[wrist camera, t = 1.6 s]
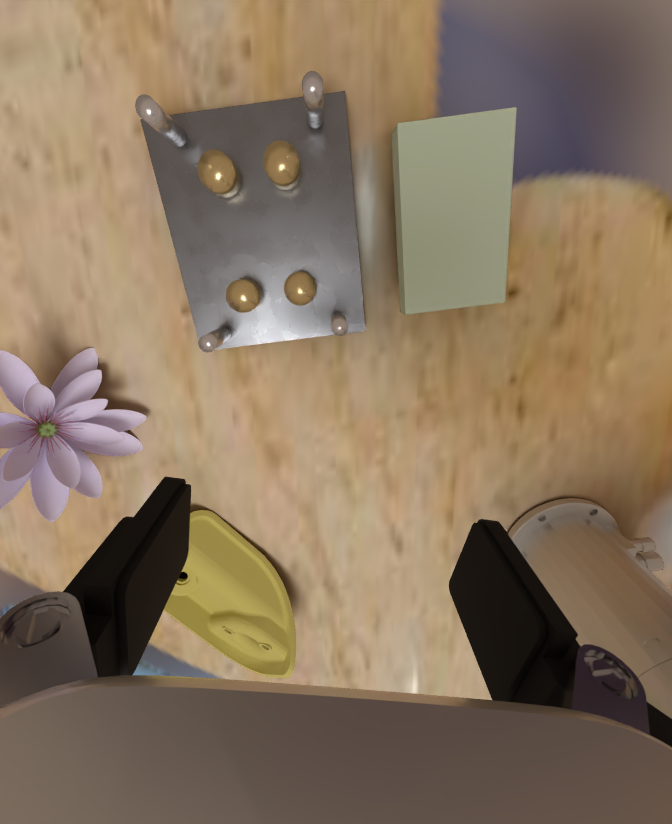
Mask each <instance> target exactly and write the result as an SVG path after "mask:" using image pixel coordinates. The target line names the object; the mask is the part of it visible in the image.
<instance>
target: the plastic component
mask: <svg viewBox="0 0 672 824" xmlns="http://www.w3.org/2000/svg"><path fill="white" fill-rule="evenodd" d="M182 572H185V573H187V575H188V577H187V578H185V579H181V578H178V580H177V582H176V584H175V586H174V589H173V591H172V593H171V595H170V597H169V599H168V601H167V603H166V606H165V608H164V610H163V611H165V612H166V613H167V614H169V615H170V616H171V617H173V618H174V619H175V620H177V621H178V622H179V623H181V624H182V625H183V626H185V627H186V628H188V629H189V630H190V631H192V632H193V633H194V634H196V635H197V636H198V637H200V638H201V639H202V640H204V641H205V642H206V643H208V644H209V645H210V646H212V647H213V648H214V649H216V650H217V651H219V652H220V653H221V654H223V655H224V656H226V657H227V658H229V659H230V660H232V661H233V662H235V663H237V664H238V665H240V666H242V667H244V668H246V669H248V670H250V671H252V672H255V673H257V674H260V675H263V676H268V677H277V678H289V677H290V676H291V674H292V673H293V670H294V666H295V656H296V633H295V624H294V617H293V612H292V608H291V604H290V600H289V597H288V594H287V592H286V589H285V587H284V584H283V582H282V580H281V578H280V577H279V575H278V573H277V571H276V570H275V569H274V567H273V566H272V564H271V563H270V562H269V561H268V560H267V558H266V557H265V556H264V555H263V554H262V553H261V552H259V551H258V550H257V549H256V548H255V547H254V546H252V545H251V544H250V543H249V542H248V541H247V540H245V539H244V538H243V537H242V536H241V535H240V534H238V533H237V532H236V531H235V530H234V529H233V528H231V527H230V526H229V525H228V524H227V523H226V522H224V521H223V520H222V519H221V518H220V517H219V516H217V515H216V514H215V513H213V512H211V511H207V510H198V511H194V512H192V513H190V529H189V552H188V557H187V560H186V563H185V565H184V567H183V569H182Z"/></svg>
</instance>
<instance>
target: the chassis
mask: <svg viewBox="0 0 672 824" xmlns="http://www.w3.org/2000/svg"><path fill="white" fill-rule="evenodd" d="M302 89H303V97H298V98H291V99H283V100H276V101H269V102H262V103H254V104H247V105H240V106H232V107H225V108H218V109H211V110H203V111H196V112H189V113H182V114H174V115H168V114H167V113H166V112H165V111H164V110H163V109H162V108H161V107H160V106H159V105H158V104H157V103H156V102H155V101H154V100H153V99H152V98H151V97H150V96H148V95H140V96H139V97H138V98H137V100H136V103H135V107H136V111H137V113H138V115H139V116H140V117H141V118H142V119H141V123H142V127H143V131H144V135H145V138H146V142H147V146H148V150H149V154H150V157H151V161H152V165H153V169H154V172H155V176H156V180H157V184H158V188H159V191H160V195H161V199H162V203H163V206H164V210H165V214H166V218H167V222H168V225H169V229H170V233H171V237H172V241H173V244H174V248H175V252H176V256H177V259H178V263H179V267H180V271H181V275H182V278H183V282H184V286H185V290H186V293H187V297H188V301H189V305H190V309H191V312H192V316H193V320H194V324H195V327H196V331H197V335H198V339H199V341H198V344H199V347H200V349H201V350H202V351H204V352H211V351H213V350H215V349H223V348H231V347H239V346H247V345H255V344H263V343H271V342H279V341H287V340H295V339H303V338H311V337H319V336H327V335H338V336H342V335H344V334H346V333H351V332H359V331H365V319H364V308H363V296H362V284H361V273H360V261H359V249H358V238H357V226H356V215H355V203H354V191H353V180H352V168H351V156H350V145H349V133H348V122H347V110H346V98H345V91H341V92H334V93H327V94H323V80H322V78H321V76H320V75H319V74H318V73H317V72H315V71H310V72H308V73H306V74H305V76H304V77H303V80H302Z"/></svg>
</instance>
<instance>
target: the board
mask: <svg viewBox="0 0 672 824" xmlns="http://www.w3.org/2000/svg"><path fill="white" fill-rule="evenodd" d="M515 123H516V107H514V108H507V109H499V110H493V111H485V112H478V113H470V114H462V115H455V116H449V117H440V118H433V119H426V120H418V121H411V122H404V123H397V125H396V127H395V129H394V131H393V133H392V136H391V137H392V158H393V178H394V199H395V219H396V240H397V260H398V281H399V301H400V312H401V313H403V314H405V315H407V314H415V313H423V312H431V311H439V310H447V309H455V308H463V307H471V306H479V305H487V304H495V303H503V302H505V293H506V277H507V260H508V243H509V226H510V209H511V192H512V175H513V158H514V141H515V125H516V124H515Z"/></svg>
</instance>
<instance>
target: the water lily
mask: <svg viewBox="0 0 672 824" xmlns="http://www.w3.org/2000/svg"><path fill="white" fill-rule="evenodd" d="M97 366H98V355H97V354H96V353H95V349H94V348H88V349H86V350H84V351H82V352H80V353H78V354H77V355H76V356H74V357H73V358H72V359H71V360H70V361H69V362H68V363H67V364H66V365H65V367H64V368H63V369H62V371H61V372H60V373H59V375H58V376H57V378H56V379H55V381H54V382H53V384H52V386H51V388H50V389H49V388H47V387H46V386H44V385H41V384H40V382H39V380H38V379H37V377H36V375H35V374H34V372H33V371H32V370H31V369H30V368H29V367H28V366H27V365H26V364H25V363H24V362H23V361H22V360H21V359H19V358H18V357H16V356H14V355H13V354H11V353H9V352H6V351H3V350H0V387H1V388H2V390H3V392H4V393H5V395H6V397H7V398H8V399H9V401H10V402H11V403H12V404H13V405H14V406H15V407H17V408H18V409H19V410H20V411H21V412H22V413H24V414H25V415H26V416H28V417H29V418H31V419H32V420H33V421H35V422H36V423H37V424H36V423H34V422H32V421H30V420H28V419H26V418H23V417H21V416H18V415H14V414H10V413H2V412H0V448H11V449H10V450H9V451H8V452H7V453H6V454H5V455H4V456H3V457H2V458H1V459H0V509H1V508H3V507H4V506H5V505H7V504H8V503H9V502H10V501H11V500H12V499H13V498H14V497H15V496H16V495H17V494H18V493H19V491H20V490H21V489H22V488H23V486H24V485H25V483H26V482H27V480H28V479H29V477H30V484H31V492H32V497H33V500H34V503H35V505H36V508H37V509H38V511H39V513H40V514H41V515H42V516H43V517H44V518H45V519H47V520H48V521H51V522H54V521H55V520H56V519H57V518H58V517H59V516H60V515H61V514H62V512H63V510H64V508H65V506H66V504H67V501H68V497H69V491H70V488H71V489H74V490H76V491H77V492H79V493H81V494H83V495H85V496H88V497H92V498H99V497H100V496H101V494H102V479H101V476H100V473H99V471H98V469H97V468H96V466H95V465H94V463H93V462H92V461H91V459H90V458H89V457H88V456H87V455H86V454H85V453H84V452H83V451H86V452H89V453H94V454H100V455H107V456H126V455H131V454H135V453H137V452H139V451H141V450H142V449H143V447H142V445H141V442H140V441H139V440H138V439H137V438H135V437H134V436H132V435H130V434H128V433H126V432H123V431H127V430H130V429H132V428H134V427H137V426H138V425H140V424H141V423H143V422H144V421H145V420H146V418H147V417H146V416H145V415H143V414H141V413H139V412H135V411H131V410H122V409H112V410H103V409H104V408H105V407H106V406H107V403H108V400H107V399H91V398H92V397H93V396H94V394H95V393H96V392H97V390H98V388H99V386H100V384H101V380H102V372H101V370H97ZM90 399H91V400H90ZM81 450H83V451H81Z"/></svg>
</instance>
